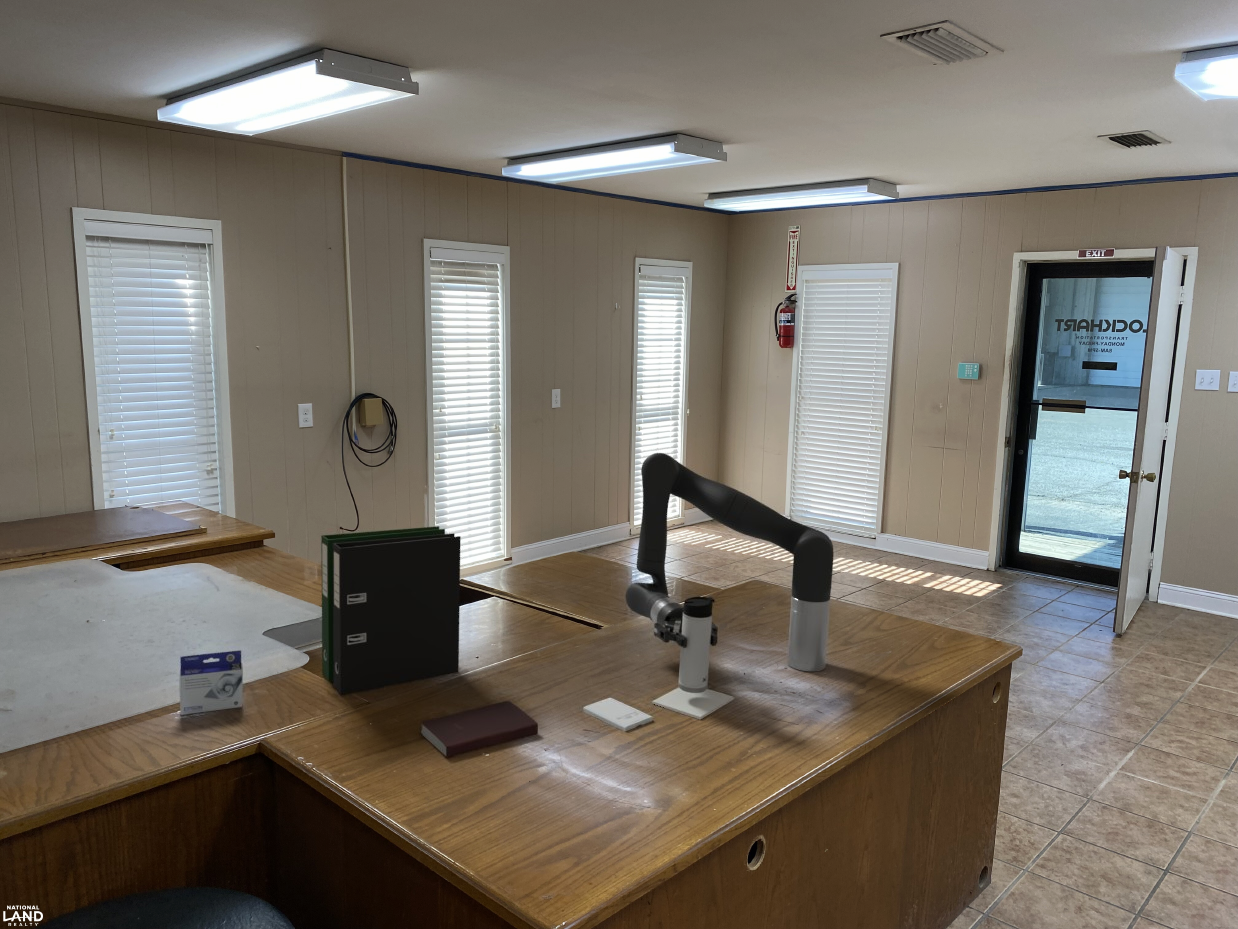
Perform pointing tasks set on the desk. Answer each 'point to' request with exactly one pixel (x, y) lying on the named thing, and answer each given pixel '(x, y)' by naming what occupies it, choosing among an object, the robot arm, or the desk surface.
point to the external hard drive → (617, 714)
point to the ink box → (210, 682)
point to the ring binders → (389, 607)
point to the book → (478, 728)
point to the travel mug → (696, 644)
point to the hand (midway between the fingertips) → (700, 642)
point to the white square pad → (693, 702)
